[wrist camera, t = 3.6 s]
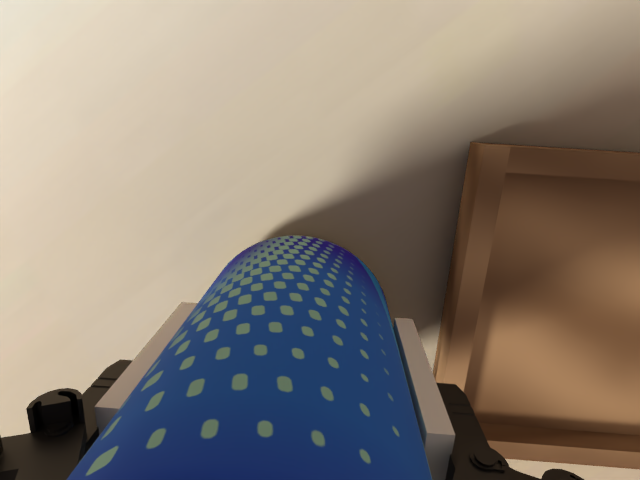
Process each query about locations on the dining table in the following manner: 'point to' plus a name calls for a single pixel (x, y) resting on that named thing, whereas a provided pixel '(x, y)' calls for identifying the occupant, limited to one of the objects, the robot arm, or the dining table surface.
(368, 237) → the dining table surface
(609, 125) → the dining table surface
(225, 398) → the beer can
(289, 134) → the dining table surface
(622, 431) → the tray
